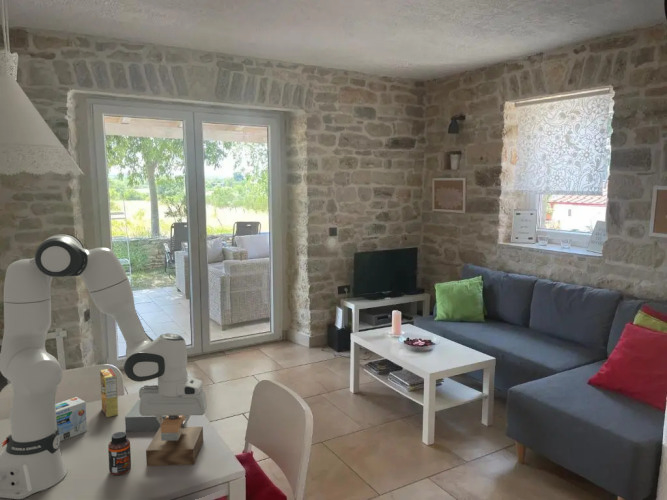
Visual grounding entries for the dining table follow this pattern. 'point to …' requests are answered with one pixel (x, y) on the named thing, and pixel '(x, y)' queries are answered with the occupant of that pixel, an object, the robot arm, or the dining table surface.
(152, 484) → the dining table surface
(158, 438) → the stand
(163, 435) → the housing base
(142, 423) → the stand
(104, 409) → the candy box
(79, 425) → the light bulb box
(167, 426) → the cover
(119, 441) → the supplement bottle
